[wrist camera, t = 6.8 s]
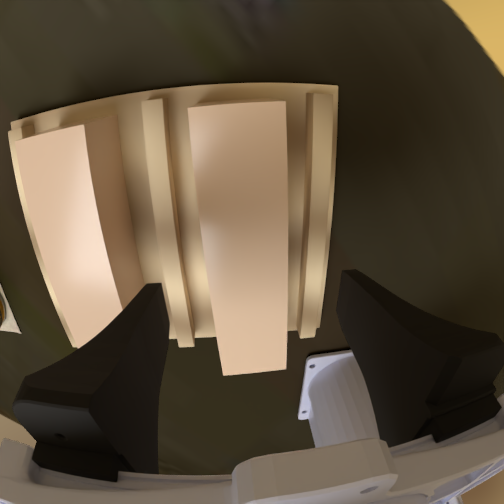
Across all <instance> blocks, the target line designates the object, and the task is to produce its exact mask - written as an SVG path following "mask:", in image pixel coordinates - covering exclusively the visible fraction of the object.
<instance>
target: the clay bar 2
mask: <svg viewBox="0 0 504 504" xmlns="http://www.w3.org/2000/svg"><path fill="white" fill-rule="evenodd" d="M188 119H189V130H190V140H191V150H192V160H193V169H194V178H195V187H196V196H197V204H198V212H199V220H200V228H201V236H202V243H203V250H204V258H205V265H206V272H207V279H208V285H209V292H210V299H211V305H212V311H213V318H214V324H215V330H216V336H217V342H218V348H219V353H220V359H221V365H222V370H223V376H224V375H236V374H247V373H256V372H265V371H274V370H282V369H286V355H287V314H288V168H287V127H286V101H281V100H275V99H269V98H267V99H245V100H230V101H218V102H207V103H197V104H194V105H192V106H190V107H188Z"/></svg>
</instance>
